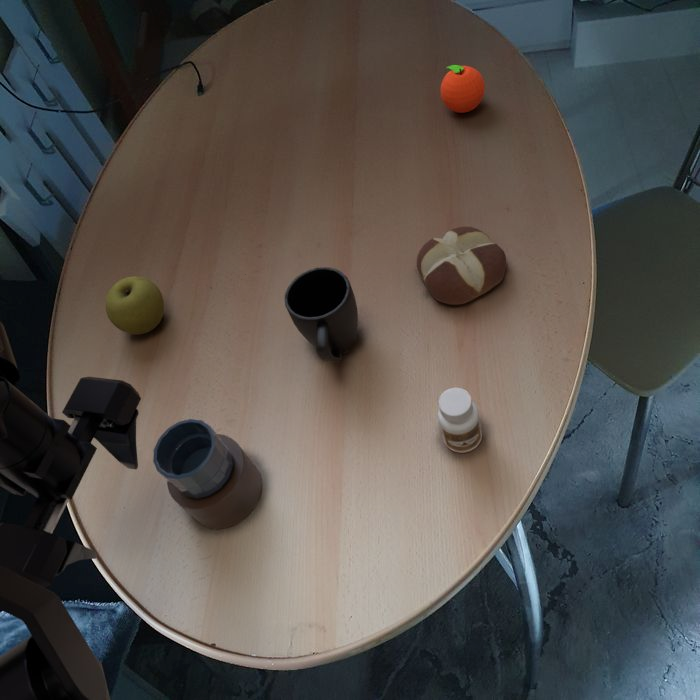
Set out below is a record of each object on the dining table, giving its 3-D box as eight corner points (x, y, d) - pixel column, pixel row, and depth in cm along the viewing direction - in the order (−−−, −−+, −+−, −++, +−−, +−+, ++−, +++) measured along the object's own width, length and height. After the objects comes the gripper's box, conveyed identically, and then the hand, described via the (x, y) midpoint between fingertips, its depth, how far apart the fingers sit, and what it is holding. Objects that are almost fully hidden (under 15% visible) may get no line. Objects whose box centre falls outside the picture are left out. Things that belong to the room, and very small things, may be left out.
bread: (438, 317, 86) (432, 293, 82) (410, 258, 93) (404, 232, 89) (520, 287, 86) (519, 261, 82) (486, 230, 93) (483, 203, 89)
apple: (183, 313, 97) (161, 281, 92) (143, 352, 95) (117, 322, 89) (153, 293, 101) (129, 261, 96) (113, 330, 99) (87, 300, 93)
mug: (306, 394, 84) (282, 351, 77) (306, 319, 91) (284, 273, 84) (370, 384, 83) (352, 339, 75) (365, 308, 90) (348, 260, 82)
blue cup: (221, 504, 71) (200, 483, 67) (166, 494, 73) (142, 473, 69) (243, 446, 75) (224, 423, 70) (190, 439, 77) (168, 415, 73)
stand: (247, 535, 75) (226, 515, 70) (178, 521, 78) (154, 501, 73) (272, 462, 80) (254, 438, 75) (206, 452, 83) (185, 429, 78)
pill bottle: (449, 458, 75) (440, 425, 69) (438, 425, 77) (429, 390, 71) (487, 447, 74) (482, 412, 68) (475, 414, 77) (469, 378, 71)
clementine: (430, 107, 111) (424, 69, 106) (464, 87, 112) (459, 47, 107) (461, 127, 107) (456, 88, 101) (495, 106, 108) (492, 66, 102)
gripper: (-2, 334, 61) (90, 418, 74) (-129, 530, 52) (1, 588, 64) (97, 343, 58) (177, 430, 70) (-20, 557, 48) (96, 613, 60)
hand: (113, 510), depth 66 cm, fingers open, 9 cm apart
